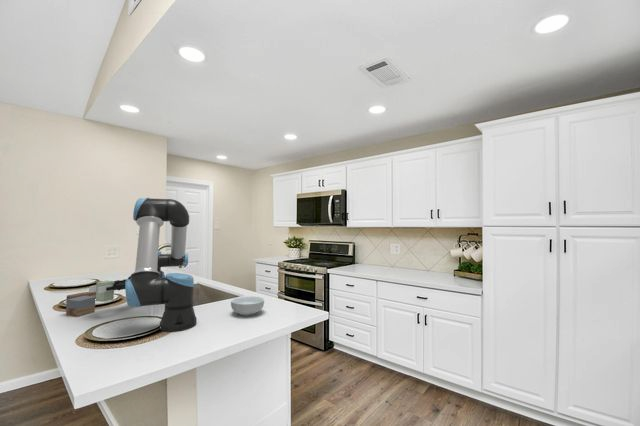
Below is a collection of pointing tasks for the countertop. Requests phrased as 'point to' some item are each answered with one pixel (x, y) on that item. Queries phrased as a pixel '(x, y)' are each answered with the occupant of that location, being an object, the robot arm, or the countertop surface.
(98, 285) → the green pillar
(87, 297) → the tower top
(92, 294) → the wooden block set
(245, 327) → the countertop surface
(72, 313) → the tower base
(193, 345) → the countertop surface
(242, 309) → the cereal bowl
